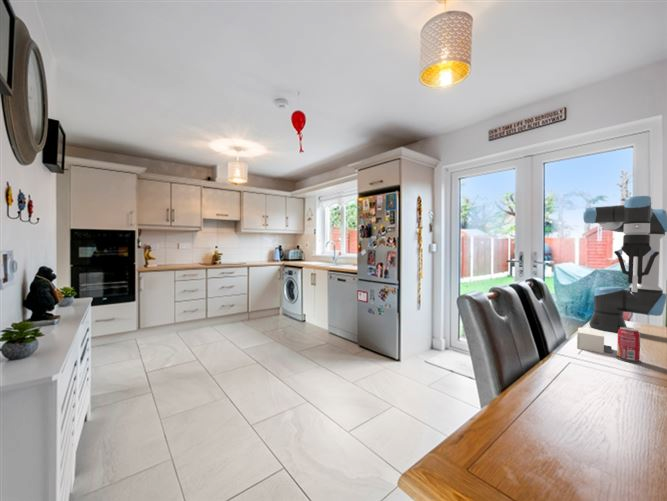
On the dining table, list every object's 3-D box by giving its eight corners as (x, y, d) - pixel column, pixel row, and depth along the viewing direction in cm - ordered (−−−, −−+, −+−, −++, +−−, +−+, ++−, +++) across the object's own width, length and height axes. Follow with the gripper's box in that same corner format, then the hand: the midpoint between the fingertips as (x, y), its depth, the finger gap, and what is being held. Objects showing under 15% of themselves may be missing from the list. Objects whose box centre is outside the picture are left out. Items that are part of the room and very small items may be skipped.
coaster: (615, 355, 119) (615, 354, 119) (640, 359, 114) (640, 358, 114) (616, 360, 114) (616, 359, 114) (642, 365, 109) (642, 364, 109)
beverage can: (629, 356, 117) (630, 326, 117) (644, 362, 111) (645, 331, 110) (612, 355, 117) (613, 326, 117) (626, 361, 111) (627, 330, 111)
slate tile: (583, 345, 132) (583, 341, 132) (611, 350, 125) (611, 346, 125) (583, 349, 127) (583, 344, 127) (611, 354, 121) (611, 349, 121)
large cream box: (577, 348, 127) (577, 332, 126) (578, 342, 135) (578, 327, 135) (603, 353, 121) (604, 336, 121) (602, 346, 129) (603, 331, 129)
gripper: (614, 234, 120) (612, 290, 120) (661, 233, 111) (659, 294, 112) (613, 234, 125) (611, 288, 126) (658, 234, 117) (656, 292, 117)
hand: (634, 291), depth 119 cm, fingers closed
